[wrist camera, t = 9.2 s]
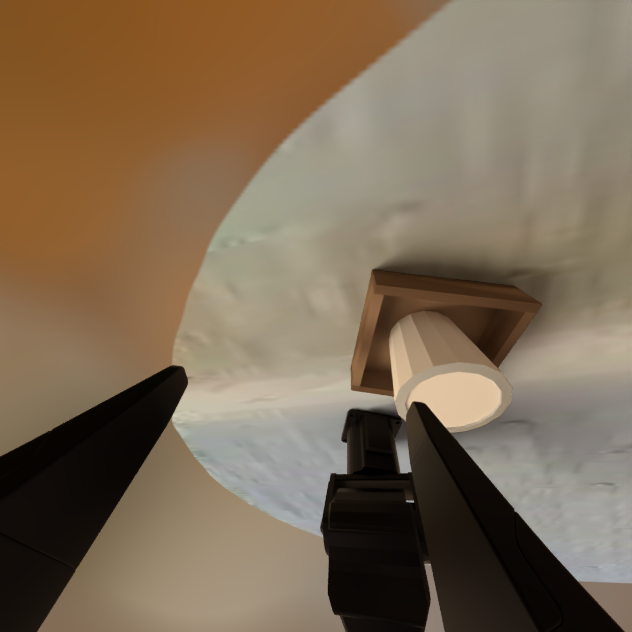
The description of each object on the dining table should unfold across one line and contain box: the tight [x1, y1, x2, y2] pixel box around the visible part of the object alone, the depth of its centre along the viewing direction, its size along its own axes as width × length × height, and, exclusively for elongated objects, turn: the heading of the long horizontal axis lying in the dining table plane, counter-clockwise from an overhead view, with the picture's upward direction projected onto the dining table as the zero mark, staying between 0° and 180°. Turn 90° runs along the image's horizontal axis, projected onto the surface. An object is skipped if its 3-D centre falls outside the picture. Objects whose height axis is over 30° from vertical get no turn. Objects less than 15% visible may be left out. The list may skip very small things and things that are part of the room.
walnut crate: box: [351, 270, 543, 396], centre depth 19 cm, size 11×11×3 cm
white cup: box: [389, 311, 512, 433], centre depth 17 cm, size 7×7×7 cm
